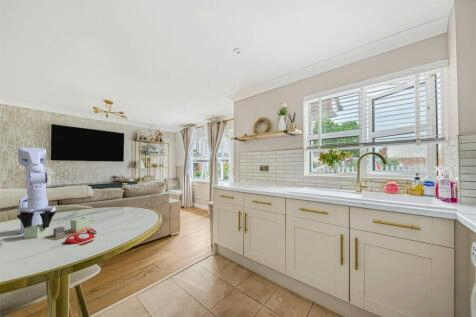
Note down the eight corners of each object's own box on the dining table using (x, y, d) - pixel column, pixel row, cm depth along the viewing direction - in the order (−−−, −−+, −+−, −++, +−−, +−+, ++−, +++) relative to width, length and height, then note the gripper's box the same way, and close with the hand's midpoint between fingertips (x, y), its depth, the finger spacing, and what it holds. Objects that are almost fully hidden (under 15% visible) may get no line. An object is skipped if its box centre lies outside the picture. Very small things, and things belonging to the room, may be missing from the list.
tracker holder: (94, 240, 76) (63, 241, 71) (91, 250, 76) (60, 251, 71) (99, 226, 87) (72, 225, 81) (96, 234, 87) (69, 234, 82)
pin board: (43, 239, 81) (43, 229, 82) (83, 228, 95) (83, 219, 95) (53, 242, 77) (53, 232, 77) (94, 230, 91) (94, 221, 91)
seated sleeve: (70, 230, 88) (70, 219, 89) (83, 227, 94) (83, 216, 94) (76, 232, 86) (76, 220, 86) (90, 228, 91) (89, 217, 91)
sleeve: (23, 240, 80) (23, 228, 80) (36, 235, 86) (36, 224, 86) (37, 240, 81) (37, 227, 81) (49, 235, 86) (49, 223, 86)
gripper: (9, 200, 79) (9, 232, 79) (45, 199, 80) (45, 230, 80) (27, 197, 86) (26, 226, 86) (60, 196, 87) (60, 225, 87)
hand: (37, 228), depth 83 cm, fingers open, 7 cm apart
